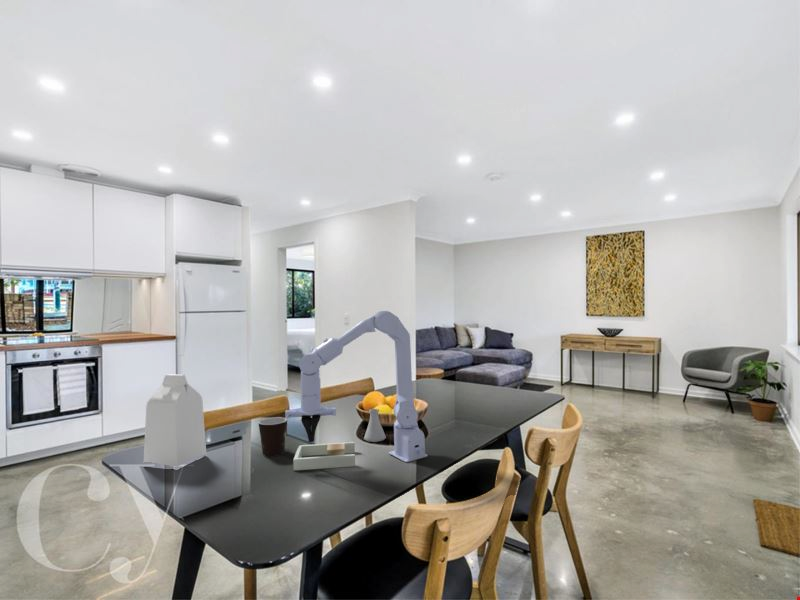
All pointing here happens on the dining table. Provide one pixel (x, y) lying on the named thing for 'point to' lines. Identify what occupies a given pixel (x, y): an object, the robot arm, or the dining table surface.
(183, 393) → the milk
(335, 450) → the oak block
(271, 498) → the dining table surface
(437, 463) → the dining table surface
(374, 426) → the flask
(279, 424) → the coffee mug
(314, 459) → the white tray
